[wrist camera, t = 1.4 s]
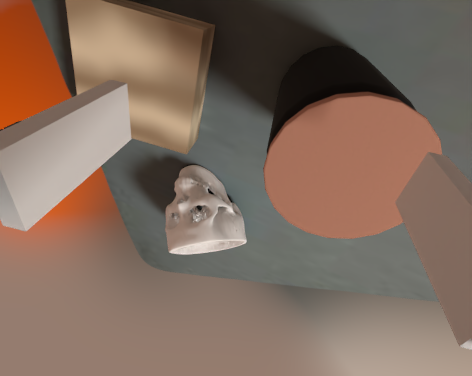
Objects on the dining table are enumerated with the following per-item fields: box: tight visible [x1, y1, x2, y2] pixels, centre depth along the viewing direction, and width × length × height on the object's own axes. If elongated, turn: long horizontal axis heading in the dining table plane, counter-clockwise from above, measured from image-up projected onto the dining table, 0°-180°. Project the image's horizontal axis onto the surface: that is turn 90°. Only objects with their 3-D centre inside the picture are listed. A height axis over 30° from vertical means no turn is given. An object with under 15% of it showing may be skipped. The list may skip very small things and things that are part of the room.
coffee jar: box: [263, 46, 442, 239], centre depth 25 cm, size 11×11×18 cm
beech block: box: [65, 0, 215, 154], centre depth 33 cm, size 14×14×5 cm
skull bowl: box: [165, 165, 247, 254], centre depth 42 cm, size 10×14×12 cm
